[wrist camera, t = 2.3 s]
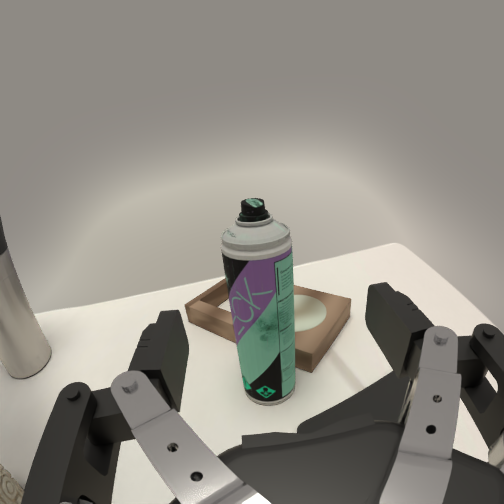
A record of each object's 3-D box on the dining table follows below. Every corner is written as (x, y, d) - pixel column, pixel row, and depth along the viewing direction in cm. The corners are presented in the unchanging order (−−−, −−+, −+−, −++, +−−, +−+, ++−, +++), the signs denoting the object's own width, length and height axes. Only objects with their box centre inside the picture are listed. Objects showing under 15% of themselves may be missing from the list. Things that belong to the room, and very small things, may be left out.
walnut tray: (188, 321, 42) (184, 303, 41) (238, 286, 50) (236, 269, 49) (311, 372, 30) (312, 352, 29) (349, 316, 39) (351, 298, 38)
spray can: (260, 363, 33) (241, 191, 25) (303, 377, 30) (300, 193, 22) (234, 394, 28) (199, 208, 21) (280, 412, 26) (267, 212, 18)
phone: (292, 426, 24) (404, 362, 28) (292, 430, 24) (402, 367, 29) (333, 482, 17) (447, 397, 22) (332, 485, 18) (445, 402, 22)
